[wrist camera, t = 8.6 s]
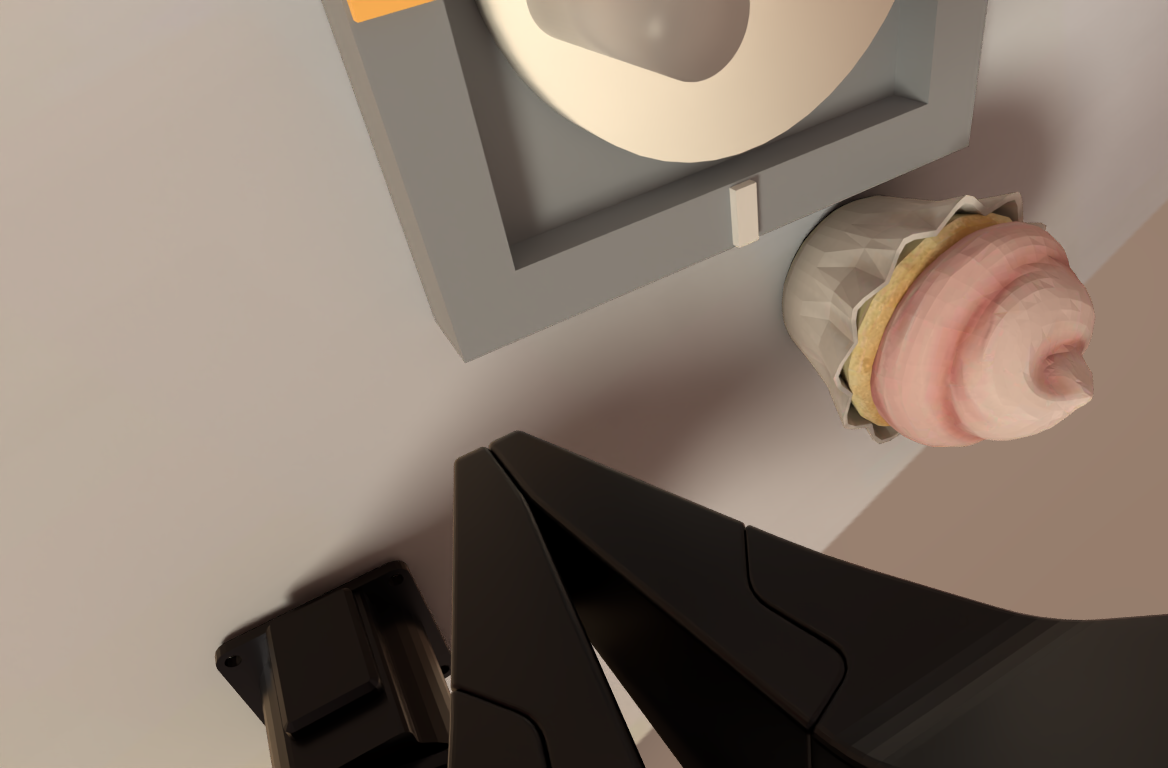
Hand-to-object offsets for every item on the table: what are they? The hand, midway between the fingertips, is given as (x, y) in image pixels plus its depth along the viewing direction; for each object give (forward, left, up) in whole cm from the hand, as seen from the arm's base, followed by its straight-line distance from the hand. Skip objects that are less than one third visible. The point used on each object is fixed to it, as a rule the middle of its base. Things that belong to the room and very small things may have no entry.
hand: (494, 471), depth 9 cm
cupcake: (-10, -17, -13) cm, 24 cm away
